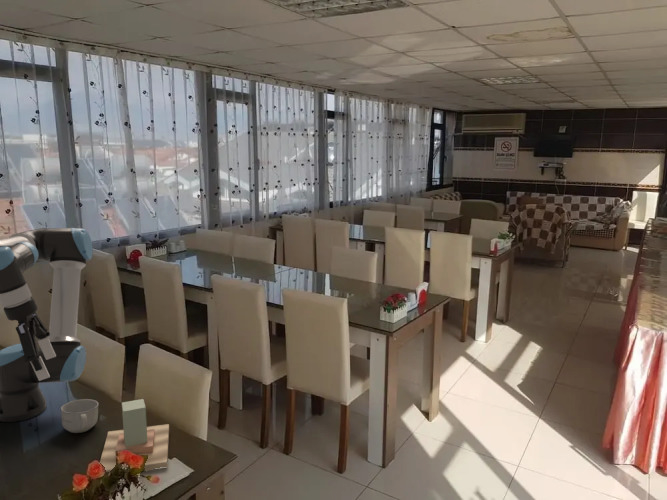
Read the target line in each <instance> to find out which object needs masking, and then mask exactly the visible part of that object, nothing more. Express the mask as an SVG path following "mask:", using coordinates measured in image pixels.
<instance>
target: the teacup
mask: <svg viewBox="0 0 667 500" xmlns="http://www.w3.org/2000/svg"><path fill="white" fill-rule="evenodd" d="M60 412H61V413H60V414H61V424H62V427H63V429H65V431H68V432H69V433H72V434H73V433H74V434H79V433H85V432H87V431H90V430H91V429H92V428H93V427H94V426H95V425H96V424H97V423H98V420H99V419H98V417H99V402H98V401H97V400H94V399H90V398H84V399H82V398H81V399H75V400H71V401H69V402H66V403H65V404H63V405H62V406H61V407H60Z"/></svg>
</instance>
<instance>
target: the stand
mask: <svg viewBox="0 0 667 500" xmlns="http://www.w3.org/2000/svg"><path fill="white" fill-rule="evenodd" d="M169 438H170V424H168V423H167V424H166V423H165V424H159V425H158V424H157V425H150V426H147V443H143V444H138V445H133V446H129V447H125V441H124V431H123V429H119V430H111V431H110V430H109V431H107V436H106V439H105V443H104V446H103V450H102V453H101V457H100V460H99V464H100V463H101V464H102V465H103V466H104V467H105V470H106V472H110V471H111V470H112V469H113V468H114V467H115V465H116V454H117V452H118V451H121V450H129V451H131V452H133V453H135V454H138V455H148V459H147V461H146V463H145V467H144V468H145V470H152V469H155V468H160V467H167V468H168V464H167V461H169V460H168V459H169V443H170V442H169V440H170V439H169Z"/></svg>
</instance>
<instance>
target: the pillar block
mask: <svg viewBox="0 0 667 500" xmlns="http://www.w3.org/2000/svg"><path fill="white" fill-rule="evenodd" d="M121 411H122V412H121V413H122V427H123V429H122V430H123V431H124V441H125V447H129V446H133V445H138V444H143V443H147V427H148V425H147V407H146V404H145V400H144V398H140V399H135V400H129V401H123V402H121Z"/></svg>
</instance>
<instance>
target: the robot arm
mask: <svg viewBox="0 0 667 500" xmlns="http://www.w3.org/2000/svg"><path fill="white" fill-rule="evenodd" d="M93 251H94V250H93V241H92V238H91V236H90V233H89V232H88V231H87V230H86V229H84V228H75V227H64V228H63V227H61V228H57V227H55V228H45V227H44V228H43V227H42V228H36V229H31V230H26V231H22V232H18V233H17V232H16V233H14V234H11V235H10V236H9V237H7V238H2V239H0V305H1V307H3V312H4V314H5V316H6V318H7V320H9V321H16V322H17V326H16V327H15V331H16V332H17V335H18V338H19V341H20V343H16V344H12V345H10V346H7V347H4V348H3V349H0V422H3V423H5V422H6V423H13V422H20V421H25V420H28V419H31V418H35V417H36V416H39V415H40V414H41V413H43V412H44V411H46V409H47V400H46V398H45V396H44V394H43V392H42V389H41V388H40V384H44V383H46V384H47V383H65V382H74V381H76V380H78V379H79V378H80V376H81V375H82V373H83V371H84V369H85V366H86V362H87V361H86V360H87V350H86V348H85V346H83V345H82V341H81V340H80V339H79V338H78V337H77V335H78V334H77V333H78V332H77V330H78V316H79V304H80V303H79V301H80V287H81V276H82V275H81V273H82V272H81V271H82V270H83V269H84V268H85V267H86V266H87V262H88V261H90V260H92V258H93ZM37 261H41V262H42V261H43V262H44V261H46V262H47V261H48V262H49V265H50V266H51V268H52V269H53V275H52V276H53V277H52V288H51V290H52V291H51V302H50V314H49V326H48V327H49V328H48V329H47V327H46V326H45V325H44V323H43V322H42V320H41V319H40V317H39V316H38V313H36V312H37V310H38V306H37V304H36V301H35V299H34V297H32V296H33V294H32V291H31V290H30V288H29V285H28V283H27V281H26V279H25V277H24V275H23V273H24V272H26V271H27V270H29V269H30V268H32V267H33V266H34V265H35V263H36V262H37ZM36 338H37V341H36ZM37 343H38V345H39V347H38V346H37Z"/></svg>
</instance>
